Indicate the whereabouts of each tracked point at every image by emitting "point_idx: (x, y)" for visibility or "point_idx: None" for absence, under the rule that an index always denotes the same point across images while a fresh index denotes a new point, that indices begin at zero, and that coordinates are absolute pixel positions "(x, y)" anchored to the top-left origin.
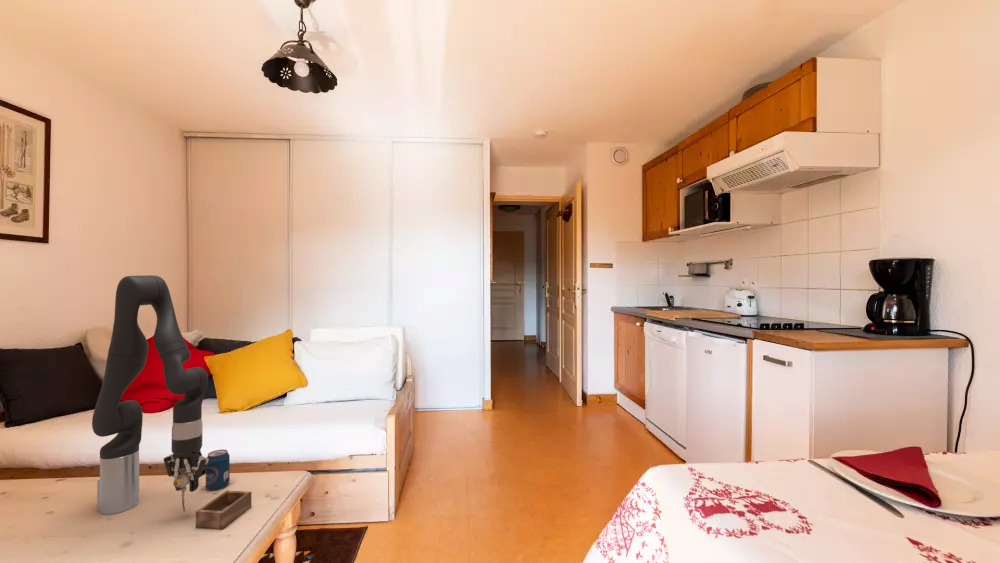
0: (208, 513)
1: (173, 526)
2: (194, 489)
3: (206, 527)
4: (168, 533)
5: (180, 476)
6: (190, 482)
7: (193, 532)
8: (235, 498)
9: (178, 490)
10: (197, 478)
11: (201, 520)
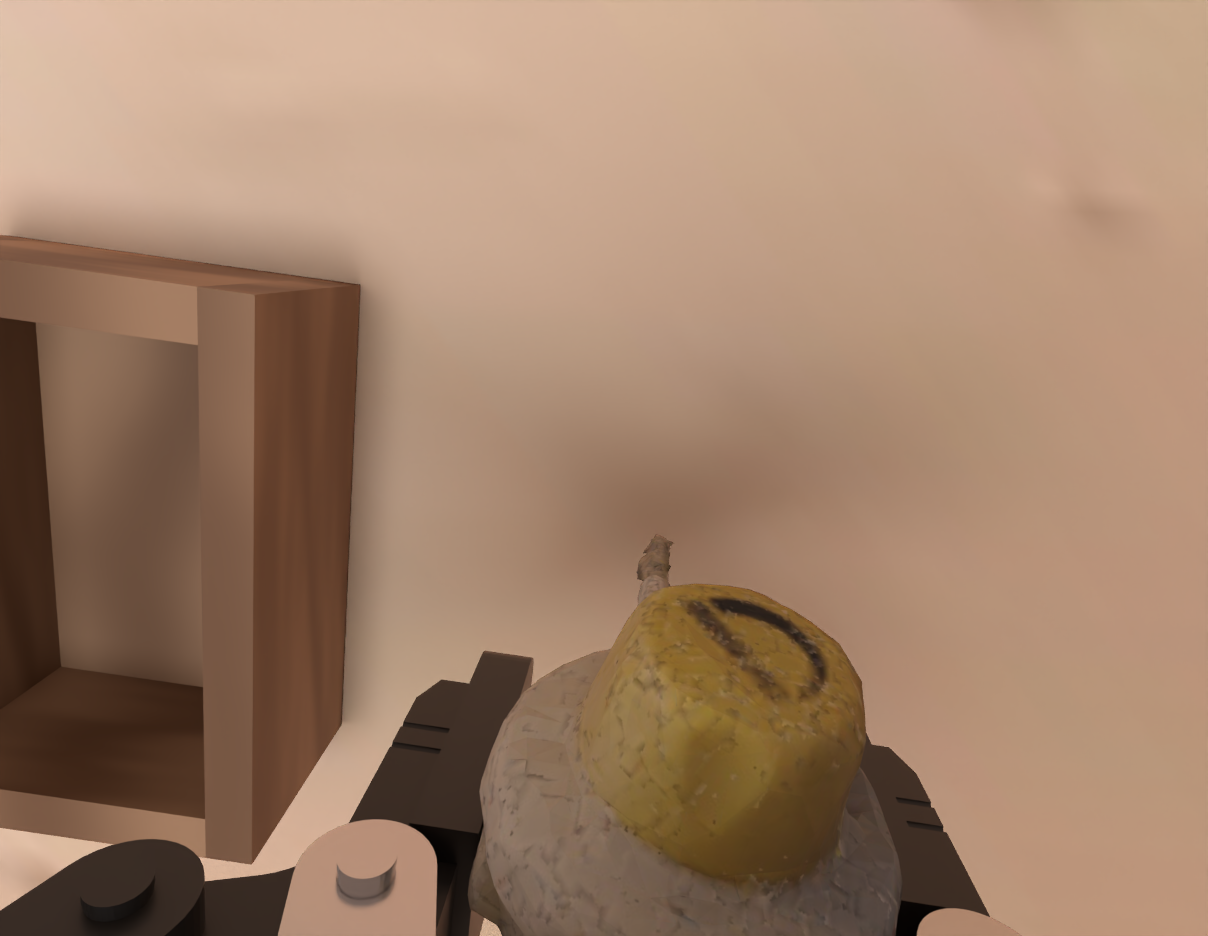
0: (43, 263)
1: (670, 340)
2: (432, 686)
3: (209, 266)
4: (625, 188)
5: (728, 919)
6: (460, 781)
7: (328, 201)
8: (135, 746)
9: None
10: (157, 841)
11: (230, 276)
